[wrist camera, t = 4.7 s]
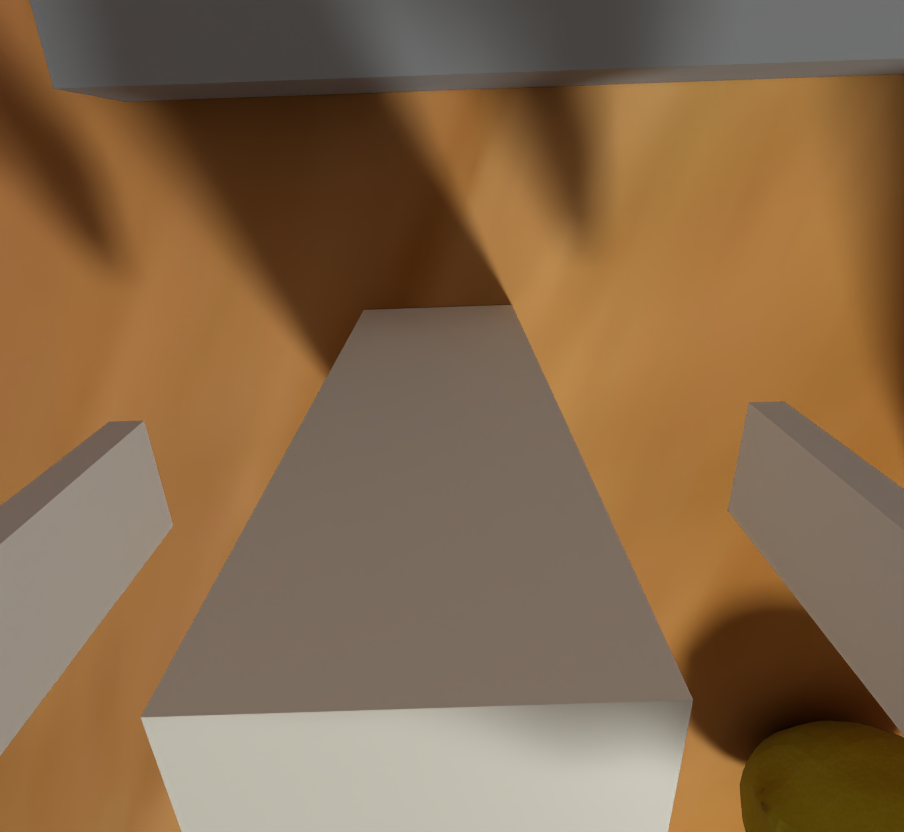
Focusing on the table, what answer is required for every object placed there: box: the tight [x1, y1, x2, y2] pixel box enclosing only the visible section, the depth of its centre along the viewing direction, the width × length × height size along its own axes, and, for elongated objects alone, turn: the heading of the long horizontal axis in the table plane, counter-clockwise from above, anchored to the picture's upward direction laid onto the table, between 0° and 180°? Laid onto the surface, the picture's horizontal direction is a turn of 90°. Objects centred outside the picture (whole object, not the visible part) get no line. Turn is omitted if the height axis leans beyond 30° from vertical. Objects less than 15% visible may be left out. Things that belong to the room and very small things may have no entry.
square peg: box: [141, 305, 693, 832], centre depth 12 cm, size 4×4×14 cm
